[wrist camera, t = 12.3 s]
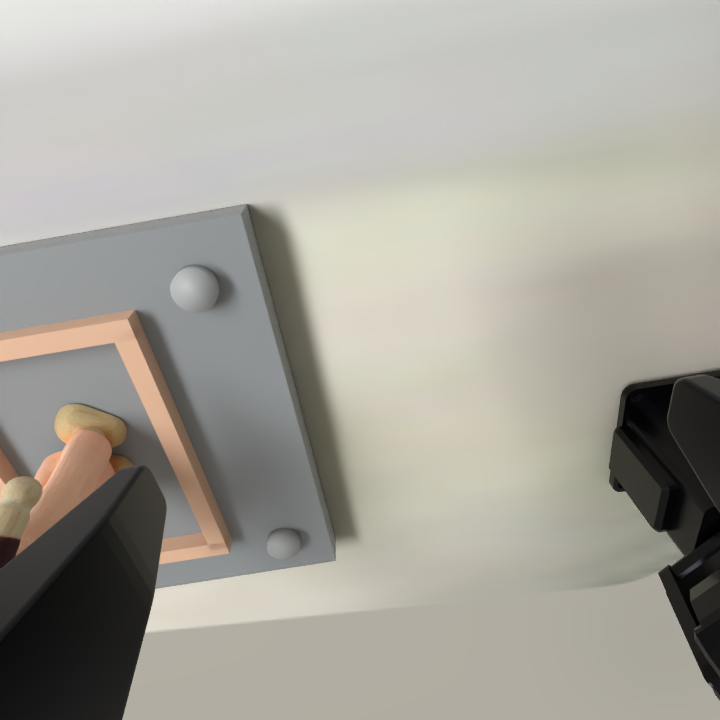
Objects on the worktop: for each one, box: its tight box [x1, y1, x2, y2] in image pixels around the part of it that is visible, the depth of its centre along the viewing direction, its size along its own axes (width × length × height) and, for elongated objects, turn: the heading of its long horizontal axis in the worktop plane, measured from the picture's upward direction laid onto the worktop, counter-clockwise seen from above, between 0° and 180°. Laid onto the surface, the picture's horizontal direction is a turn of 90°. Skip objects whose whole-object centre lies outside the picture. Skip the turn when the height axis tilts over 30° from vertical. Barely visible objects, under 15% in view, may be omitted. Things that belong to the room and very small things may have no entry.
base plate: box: [0, 204, 336, 589], centre depth 22 cm, size 18×18×2 cm
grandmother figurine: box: [0, 404, 133, 569], centre depth 16 cm, size 8×4×13 cm, turn 4°
